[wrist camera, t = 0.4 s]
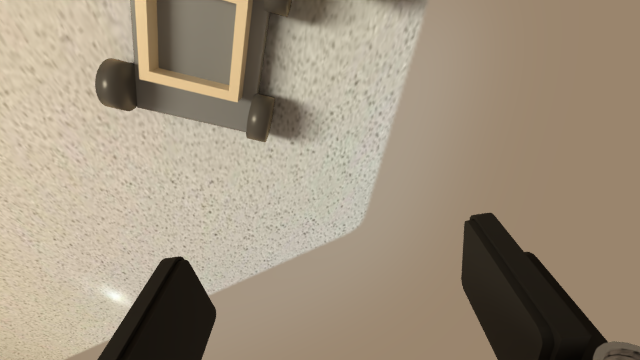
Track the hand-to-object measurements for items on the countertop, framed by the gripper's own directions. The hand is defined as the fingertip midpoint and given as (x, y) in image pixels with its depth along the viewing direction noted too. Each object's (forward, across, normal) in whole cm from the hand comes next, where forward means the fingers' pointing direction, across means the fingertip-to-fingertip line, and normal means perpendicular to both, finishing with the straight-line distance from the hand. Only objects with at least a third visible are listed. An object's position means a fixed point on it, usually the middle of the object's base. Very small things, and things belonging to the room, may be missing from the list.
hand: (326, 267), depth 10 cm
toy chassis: (+28, +12, -7) cm, 31 cm away
